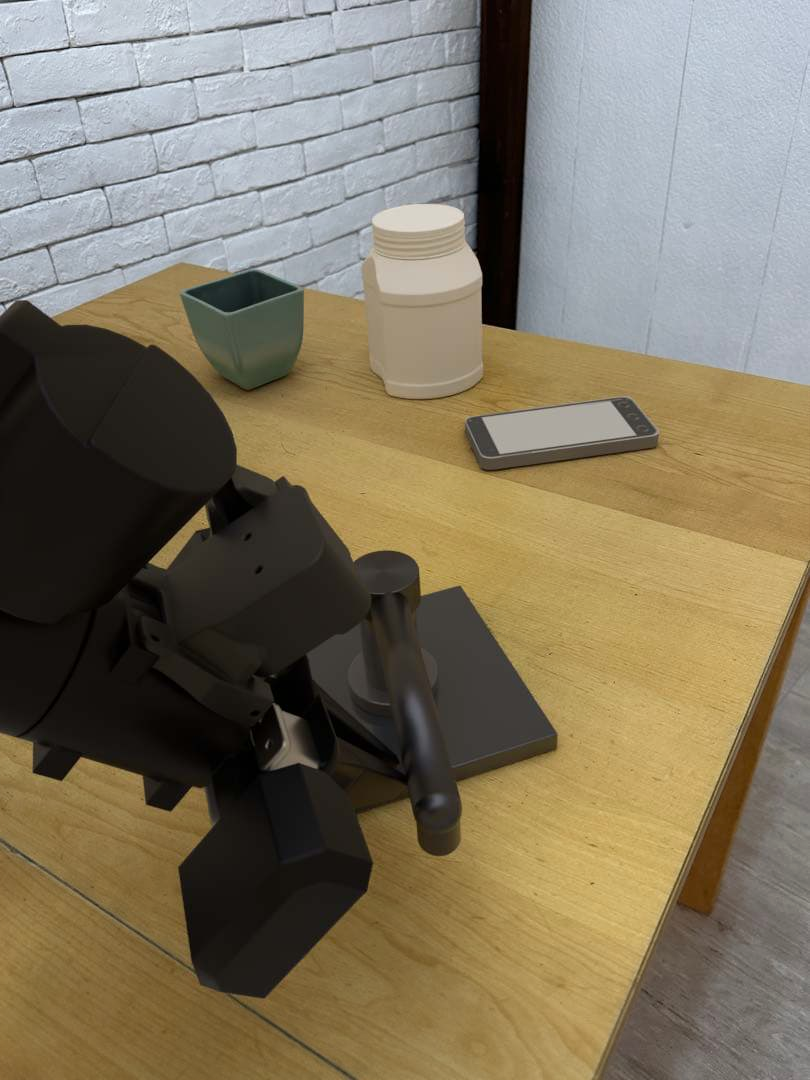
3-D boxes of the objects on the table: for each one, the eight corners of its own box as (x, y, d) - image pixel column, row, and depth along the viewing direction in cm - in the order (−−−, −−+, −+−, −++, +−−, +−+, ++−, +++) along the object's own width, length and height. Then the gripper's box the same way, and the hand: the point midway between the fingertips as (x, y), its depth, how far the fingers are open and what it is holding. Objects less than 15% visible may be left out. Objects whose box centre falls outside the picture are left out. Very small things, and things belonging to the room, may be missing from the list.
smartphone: (662, 434, 74) (482, 459, 72) (661, 446, 74) (482, 471, 73) (629, 395, 80) (462, 417, 78) (628, 406, 80) (463, 428, 79)
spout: (348, 596, 51) (343, 555, 49) (415, 586, 51) (412, 545, 49) (397, 866, 36) (392, 821, 35) (489, 850, 37) (489, 804, 35)
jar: (363, 359, 92) (349, 208, 83) (451, 342, 94) (447, 193, 85) (396, 407, 83) (384, 243, 74) (493, 387, 85) (492, 226, 76)
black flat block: (309, 829, 46) (290, 732, 42) (254, 655, 57) (235, 564, 53) (557, 749, 49) (562, 651, 45) (460, 598, 60) (458, 509, 56)
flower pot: (317, 374, 90) (306, 286, 85) (242, 405, 85) (226, 314, 80) (267, 350, 95) (254, 266, 90) (195, 378, 91) (176, 291, 86)
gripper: (244, 657, 20) (644, 823, 29) (159, 348, 35) (441, 521, 43) (-13, 971, 23) (424, 1035, 32) (9, 562, 37) (303, 683, 46)
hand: (396, 777), depth 38 cm, fingers closed
